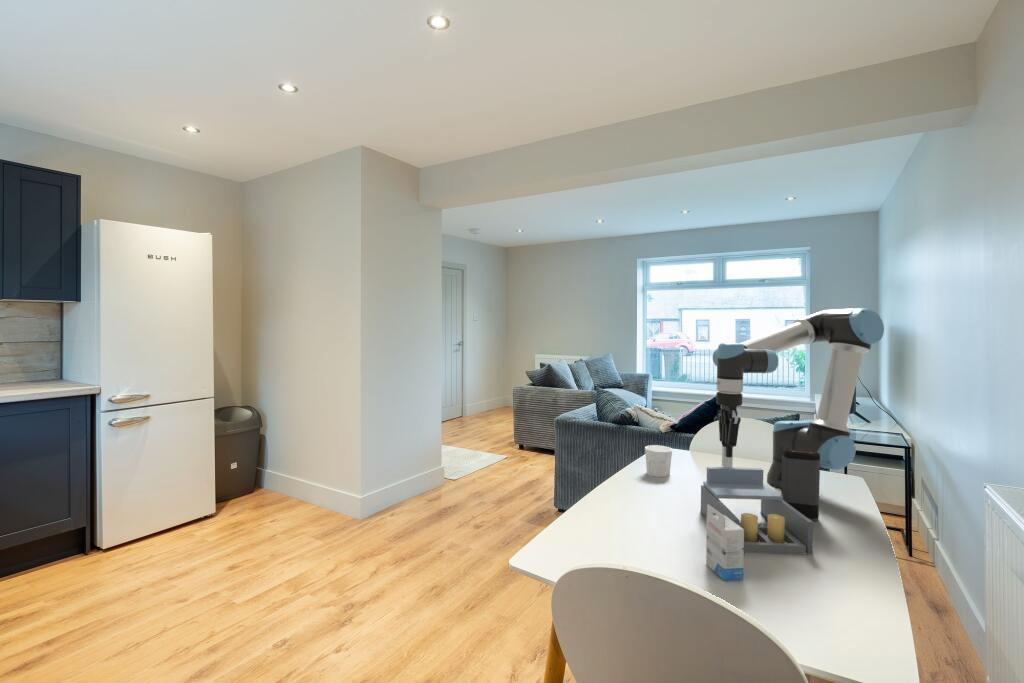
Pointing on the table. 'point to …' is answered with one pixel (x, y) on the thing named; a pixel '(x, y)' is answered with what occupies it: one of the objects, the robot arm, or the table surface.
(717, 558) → the ink box
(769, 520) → the cylinder
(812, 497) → the electronic device
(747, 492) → the lid
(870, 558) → the table surface
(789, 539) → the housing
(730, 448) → the robot arm
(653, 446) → the cup
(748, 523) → the peg
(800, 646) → the table surface
